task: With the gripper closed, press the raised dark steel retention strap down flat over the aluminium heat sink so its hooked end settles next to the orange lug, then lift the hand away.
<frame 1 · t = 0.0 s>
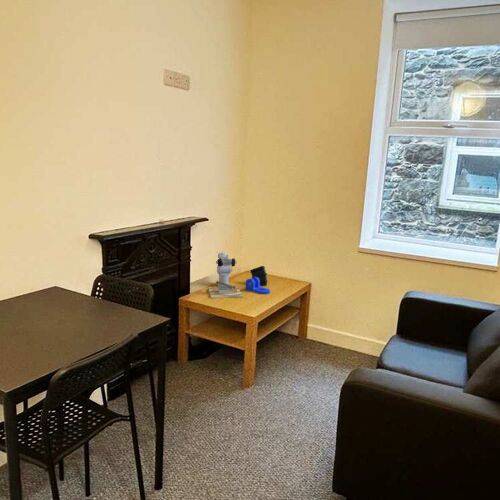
hand: (227, 264, 309), 22 cm above the table, tool horizontal, fingers open, 7 cm apart
retention strap: (226, 285, 313), point 6 cm above the table, hinge at 18.0°
heat sink: (225, 289, 314), on the board, point 3 cm above the table
lugs: (224, 289, 314), on the board, point 3 cm above the table
magazine: (258, 284, 339), on the table
board: (225, 293, 314), on the table
bracket: (258, 291, 323), on the table
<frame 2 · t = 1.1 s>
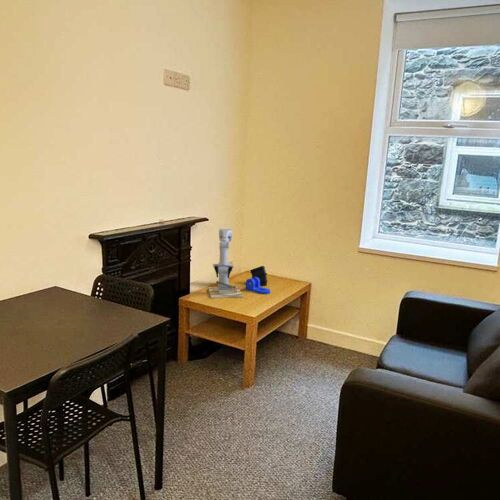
hand: (222, 277, 310), 12 cm above the table, tool tilted 20°, fingers open, 7 cm apart
nothing on the table moved.
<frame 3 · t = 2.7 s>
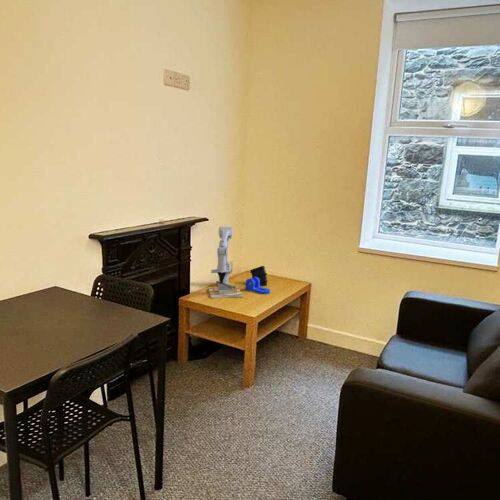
hand: (221, 282, 312), 8 cm above the table, tool pointing down, fingers closed
retention strap: (226, 285, 313), point 6 cm above the table, hinge at 18.0°, touching gripper
everything else where it was.
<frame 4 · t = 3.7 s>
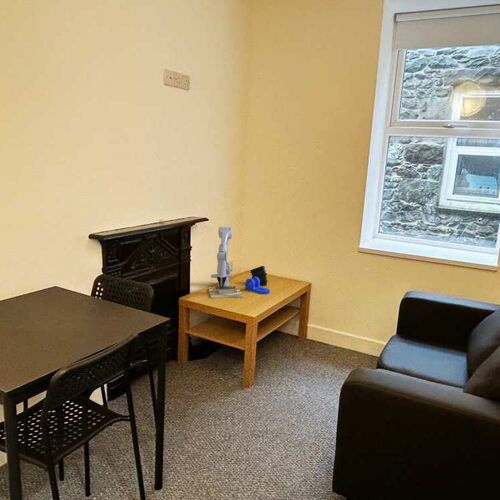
hand: (221, 287, 313), 4 cm above the table, tool pointing down, fingers closed on retention strap
retention strap: (225, 287, 314), point 4 cm above the table, hinge at 0.1°, touching gripper
everything else where it was.
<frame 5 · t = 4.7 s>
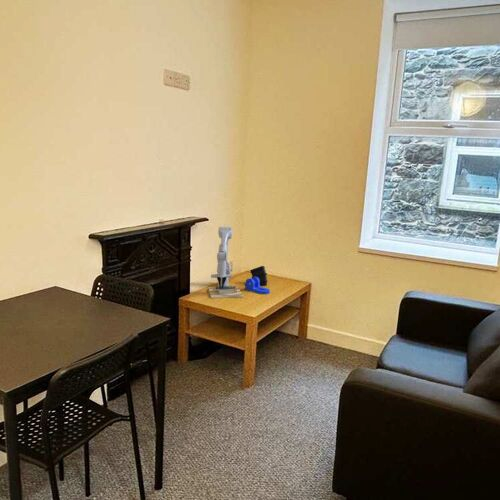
hand: (221, 287, 313), 4 cm above the table, tool pointing down, fingers closed on retention strap
retention strap: (225, 287, 314), point 4 cm above the table, hinge at 0.1°, touching gripper
everything else where it was.
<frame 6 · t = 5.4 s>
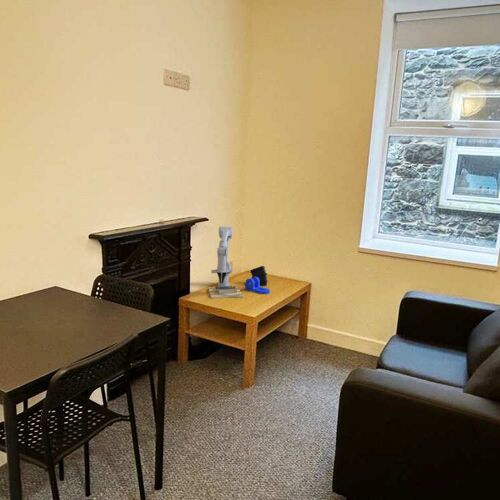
hand: (221, 282, 312), 8 cm above the table, tool pointing down, fingers closed
retention strap: (225, 287, 314), point 4 cm above the table, hinge at 0.1°
everything else where it was.
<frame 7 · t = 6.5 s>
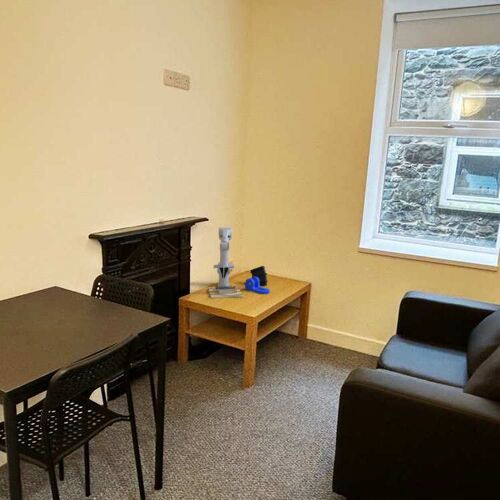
hand: (223, 277, 315), 10 cm above the table, tool pointing down, fingers closed
nothing on the table moved.
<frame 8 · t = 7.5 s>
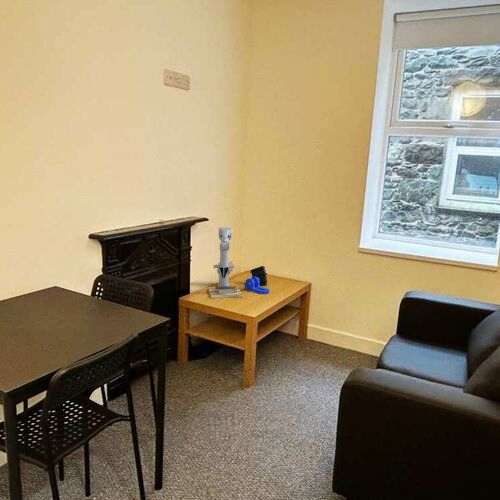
hand: (223, 277, 315), 10 cm above the table, tool pointing down, fingers closed
nothing on the table moved.
at the end: retention strap at +0° (first picture: +18°); bracket moved 0.7 cm from its start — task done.
